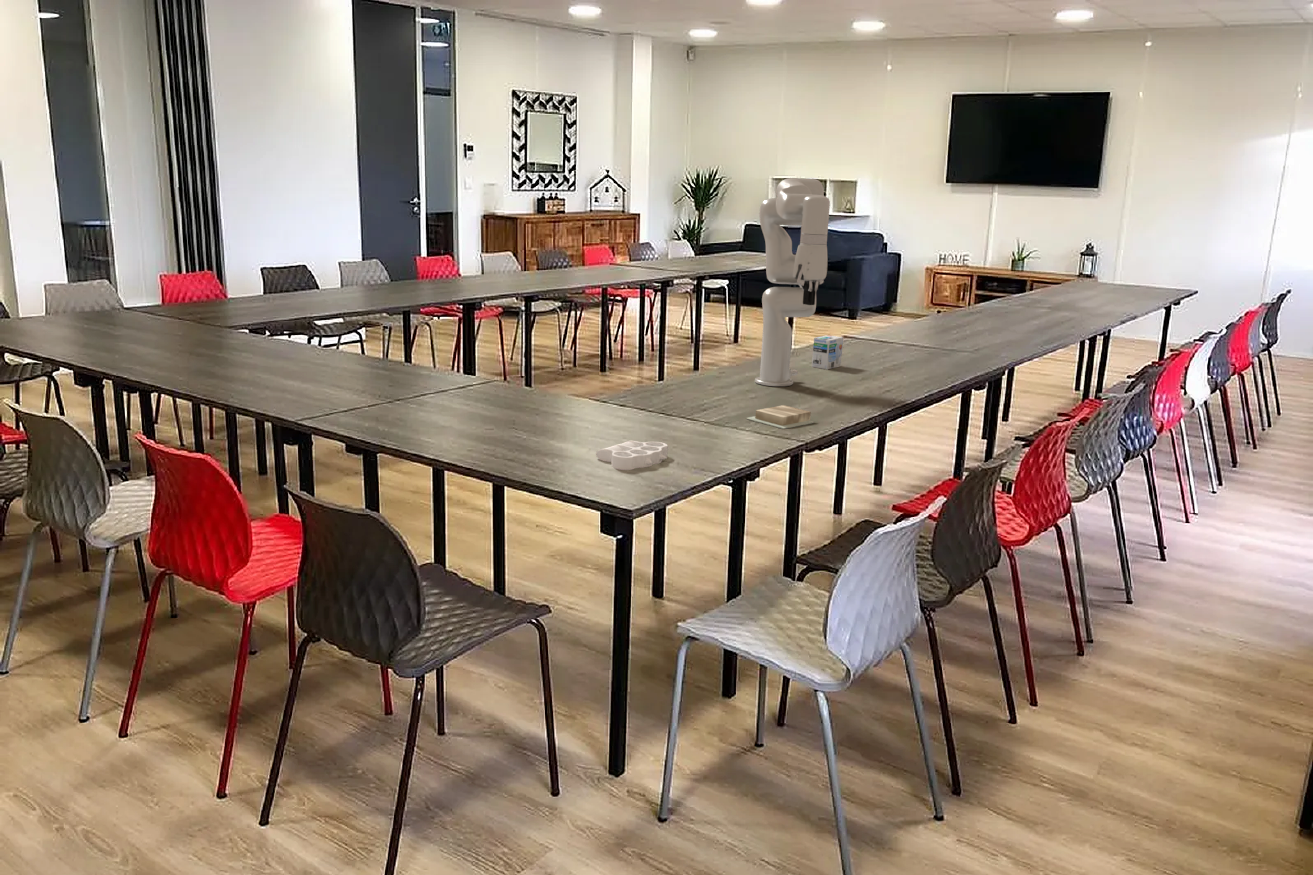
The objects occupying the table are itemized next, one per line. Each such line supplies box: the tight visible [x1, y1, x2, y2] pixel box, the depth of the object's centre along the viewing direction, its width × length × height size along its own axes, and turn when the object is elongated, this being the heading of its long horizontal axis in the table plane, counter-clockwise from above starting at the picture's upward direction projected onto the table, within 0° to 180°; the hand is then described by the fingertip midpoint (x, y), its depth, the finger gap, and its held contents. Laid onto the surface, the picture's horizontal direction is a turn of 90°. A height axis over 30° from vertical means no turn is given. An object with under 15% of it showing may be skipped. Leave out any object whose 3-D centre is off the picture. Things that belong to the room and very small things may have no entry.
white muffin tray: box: [595, 440, 669, 471], centre depth 253 cm, size 3×18×15 cm
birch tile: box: [755, 404, 812, 426], centre depth 299 cm, size 2×10×12 cm
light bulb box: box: [811, 334, 844, 370], centre depth 383 cm, size 11×7×11 cm, turn 143°
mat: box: [745, 416, 815, 430], centre depth 298 cm, size 13×14×1 cm
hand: (808, 304), depth 307 cm, fingers closed
